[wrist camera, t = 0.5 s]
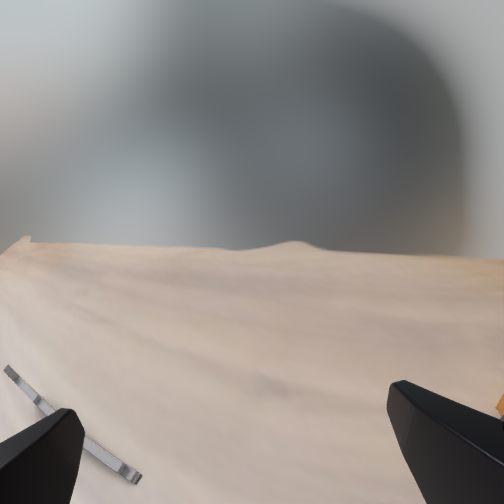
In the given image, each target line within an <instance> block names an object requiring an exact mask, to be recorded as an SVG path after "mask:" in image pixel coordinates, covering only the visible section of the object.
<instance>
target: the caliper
mask: <svg viewBox="0 0 504 504" xmlns="http://www.w3.org/2000/svg"><path fill="white" fill-rule="evenodd" d="M3 371H4V372H5V373H6V374H7V375H8V376H9V377H10V378H11V379H12V380H13V381H14V382H15V383H16V385H17V386H18V387H19V388H20V389H21V390H22V391H23V392H24V393H25V394H26V395H27V396H28V397H29V398H30V399H31V400H32V401H33V402H34V403H35V404H36V405H37V406H38V407H39V408H40V409H41V410H42V411H43V412H44V413H45V414H46V415H47V416H49V415H50V414H52V413H54V412H55V410H54V409H53V408H52V407H51V406H50V405H49V404H48V403H47V402H46V401H45V400H44V399H43V398H42V397H41V396H40V395H39V394H38V393H37V392H36V391H35V390H34V389H33V388H31V387H30V386H29V385H28V384H27V383H26V382H25V381H24V380H23V379H22V378H21V377H20V376H19V375H18V374H17V373H16V372H15V371H14V370H13V369H12V368H11V367H10V366H9V365H7V366H6V368H5V369H4V370H3ZM83 447H84V448H85V449H86V450H88V451H89V452H90V453H91V454H93V455H94V456H95V457H97V458H98V459H99V460H101V461H102V462H103V463H105V464H106V465H107V466H109V467H110V468H112V469H113V470H114V471H116V472H117V473H119V474H121V475H122V476H124V477H125V478H127V479H128V480H130V481H131V482H133V483H136V481H137V480H138V478H139V477H140V475H141V474H140V473H138V472H137V471H135V470H134V469H132V468H130V467H129V466H127V465H126V464H124V463H123V462H121V461H120V460H119V459H117V458H116V457H114V456H113V455H111V454H110V453H108V452H107V451H106V450H104V449H103V448H101V447H100V446H99V445H97V444H96V443H95V442H93V441H92V440H91V439H89V438H88V437H87V436H86V435H85V439H84V444H83Z"/></svg>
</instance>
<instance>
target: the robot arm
mask: <svg viewBox="0 0 504 504" xmlns="http://www.w3.org/2000/svg"><path fill="white" fill-rule="evenodd" d="M387 413H388V416H389V418H390V421H391V424H392V426H393V429H394V432H395V435H396V438H397V440H398V443H399V446H400V449H401V452H402V454H403V456H404V458H405V460H406V462H407V464H408V466H409V468H410V470H411V472H412V474H413V476H414V479H415V481H416V483H417V485H418V487H419V489H420V491H421V493H422V495H423V497H424V499H425V501H426V503H427V504H504V421H501V420H500V419H497V418H495V417H492V416H490V415H487V414H485V413H482V412H480V411H477V410H475V409H472V408H470V407H467V406H465V405H462V404H460V403H457V402H455V401H453V400H450V399H448V398H445V397H443V396H441V395H438V394H436V393H434V392H431V391H429V390H427V389H424V388H422V387H420V386H417V385H415V384H413V383H411V382H408V381H406V380H401V381H397V382H394V383H392V384H391V385H390V388H389V394H388V400H387ZM84 439H85V431H84V428H83V426H82V424H81V422H80V420H79V418H78V416H77V414H76V412H75V411H74V410H73V409H67V408H61V409H59V410H57V411H55V412H54V413H52V414H50V415H49V416H47V417H45V418H43V419H42V420H40V421H38V422H37V423H35V424H33V425H31V426H30V427H28V428H26V429H24V430H23V431H21V432H19V433H17V434H16V435H14V436H12V437H10V438H9V439H7V440H5V441H3V442H1V443H0V504H70V500H71V496H72V493H73V489H74V486H75V482H76V479H77V475H78V470H79V465H80V459H81V454H82V449H83V444H84Z"/></svg>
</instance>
